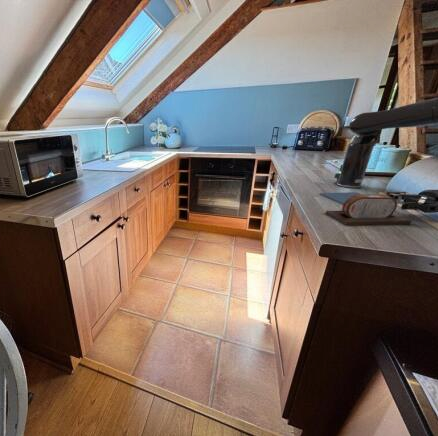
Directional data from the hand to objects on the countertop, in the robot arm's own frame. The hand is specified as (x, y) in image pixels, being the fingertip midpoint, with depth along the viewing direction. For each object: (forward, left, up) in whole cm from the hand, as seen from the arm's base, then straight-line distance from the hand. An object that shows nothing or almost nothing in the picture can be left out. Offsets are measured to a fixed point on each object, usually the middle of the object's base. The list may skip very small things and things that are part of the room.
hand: (390, 201), depth 79 cm
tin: (0, -6, -6) cm, 9 cm away
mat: (-22, +5, -6) cm, 23 cm away
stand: (0, -6, -6) cm, 9 cm away
